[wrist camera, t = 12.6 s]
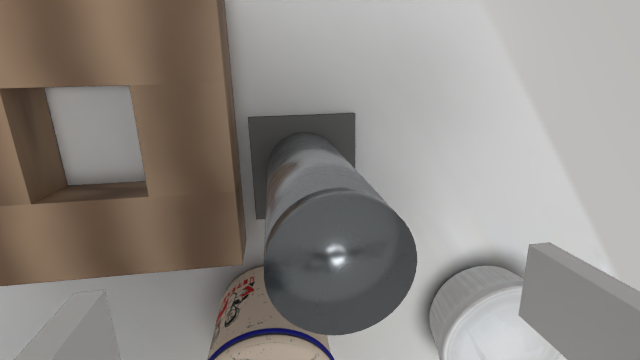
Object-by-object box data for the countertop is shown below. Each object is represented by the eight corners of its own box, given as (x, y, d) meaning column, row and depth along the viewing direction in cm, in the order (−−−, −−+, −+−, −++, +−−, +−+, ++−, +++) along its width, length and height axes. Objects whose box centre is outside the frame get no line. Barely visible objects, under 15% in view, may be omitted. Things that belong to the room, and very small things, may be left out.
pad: (256, 216, 28) (256, 219, 27) (248, 116, 26) (248, 117, 25) (353, 209, 29) (354, 212, 28) (353, 113, 26) (355, 113, 26)
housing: (6, 259, 26) (-40, 289, 22) (-77, -3, 21) (-154, -22, 17) (246, 240, 28) (242, 264, 24) (224, -2, 23) (214, -19, 19)
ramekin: (397, 335, 33) (420, 380, 28) (455, 237, 31) (491, 267, 26) (487, 364, 36) (522, 410, 31) (546, 276, 34) (594, 310, 29)
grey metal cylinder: (270, 204, 27) (269, 343, 13) (265, 133, 25) (257, 202, 11) (339, 199, 28) (412, 326, 13) (339, 129, 26) (421, 190, 12)
